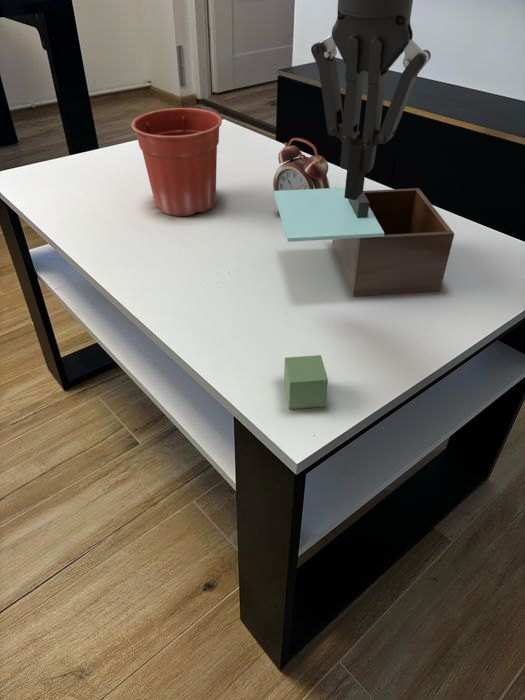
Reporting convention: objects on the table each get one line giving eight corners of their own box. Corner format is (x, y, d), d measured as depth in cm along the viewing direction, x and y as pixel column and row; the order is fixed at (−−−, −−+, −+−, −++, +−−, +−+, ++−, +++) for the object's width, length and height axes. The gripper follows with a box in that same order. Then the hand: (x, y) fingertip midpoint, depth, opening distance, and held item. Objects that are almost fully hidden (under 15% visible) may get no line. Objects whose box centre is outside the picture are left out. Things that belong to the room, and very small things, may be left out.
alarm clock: (271, 213, 106) (271, 135, 96) (288, 205, 108) (290, 128, 99) (313, 232, 100) (318, 150, 90) (329, 223, 102) (336, 143, 93)
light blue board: (384, 236, 78) (387, 217, 76) (287, 242, 76) (288, 222, 74) (357, 190, 90) (359, 172, 88) (273, 194, 89) (274, 176, 87)
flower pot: (133, 196, 112) (119, 115, 101) (206, 180, 118) (200, 102, 107) (161, 229, 101) (149, 142, 90) (240, 210, 107) (237, 126, 96)
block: (325, 406, 66) (328, 379, 63) (288, 409, 65) (289, 382, 63) (318, 381, 69) (321, 354, 66) (283, 383, 69) (284, 357, 66)
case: (440, 291, 85) (454, 233, 78) (352, 296, 84) (360, 238, 77) (408, 241, 97) (419, 188, 91) (332, 245, 96) (336, 191, 89)
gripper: (454, -34, 53) (412, 194, 68) (331, -39, 58) (318, 175, 73) (435, -26, 48) (394, 217, 63) (302, -32, 53) (294, 196, 68)
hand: (353, 194), depth 68 cm, fingers closed
